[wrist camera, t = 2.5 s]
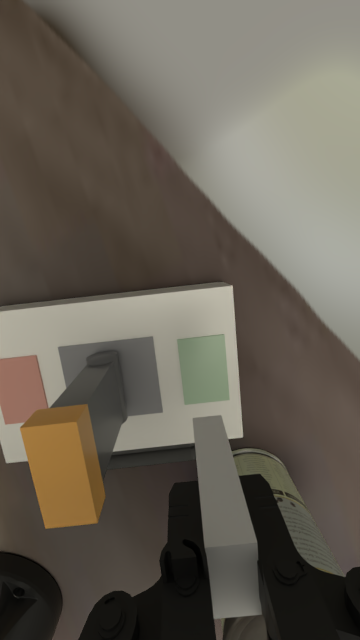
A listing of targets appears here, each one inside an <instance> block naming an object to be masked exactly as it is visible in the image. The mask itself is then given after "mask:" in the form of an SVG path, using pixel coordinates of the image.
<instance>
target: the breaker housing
mask: <svg viewBox="0 0 360 640" xmlns="http://www.w3.org/2000/svg"><path fill="white" fill-rule="evenodd" d="M104 351H115V352H117V354H118V360H119V366H120V372H121V379H122V385H123V391H124V397H125V403H126V409H127V415H128V418H127V420H126V421H125V422H124V423H123V424H122V425H121V428H120V431H119V434H118V437H117V440H116V443H115V446H114V449H113V452H115V451H124V450H133V449H142V448H151V447H160V446H169V445H179V444H188V443H195V440H194V429H193V419H192V418H197V417H206V416H216V415H221V416H222V419H223V423H224V426H225V430H226V433H227V437H228V439H234V438H243V428H242V414H241V399H240V385H239V371H238V357H237V342H236V328H235V314H234V299H233V286H232V285H230V284H227V283H225V282H213V283H204V284H195V285H186V286H177V287H168V288H160V289H151V290H142V291H133V292H124V293H115V294H106V295H97V296H88V297H79V298H70V299H61V300H52V301H43V302H34V303H25V304H16V305H7V306H1V307H0V442H1V446H2V450H3V453H4V457H5V461H6V463H14V462H23V461H28V458H27V455H26V451H25V447H24V443H23V439H22V435H21V431H20V427H21V426H22V425H23V424H24V423H25V422H26V421H27V420H28V419H29V418H30V417H31V415H32V414H33V413H34V412H35V411H36V410H38V409H47V408H50V407H51V406H52V404H53V403H54V402H55V401H56V400H57V399H58V398H59V396H60V395H61V394H62V393H63V392H64V391H65V389H66V388H67V387H68V386H69V385H70V384H71V382H72V381H73V380H74V379H75V378H76V377H77V375H78V374H79V373H80V372H81V371H82V370H83V369H84V367H85V366H86V365H87V362H86V358H87V357H88V356H90V355H92V354H95V353H99V352H104Z"/></svg>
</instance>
